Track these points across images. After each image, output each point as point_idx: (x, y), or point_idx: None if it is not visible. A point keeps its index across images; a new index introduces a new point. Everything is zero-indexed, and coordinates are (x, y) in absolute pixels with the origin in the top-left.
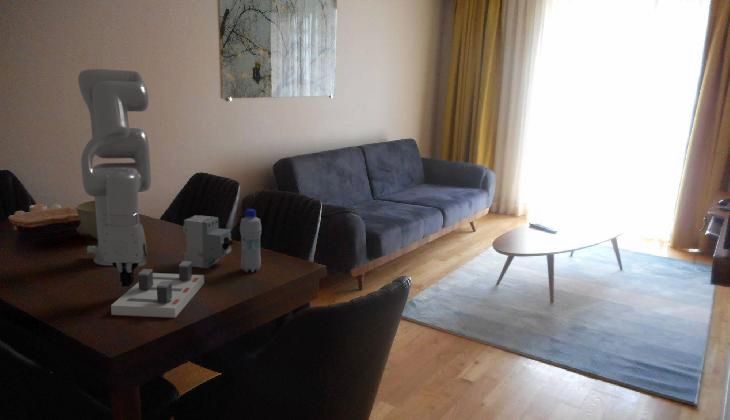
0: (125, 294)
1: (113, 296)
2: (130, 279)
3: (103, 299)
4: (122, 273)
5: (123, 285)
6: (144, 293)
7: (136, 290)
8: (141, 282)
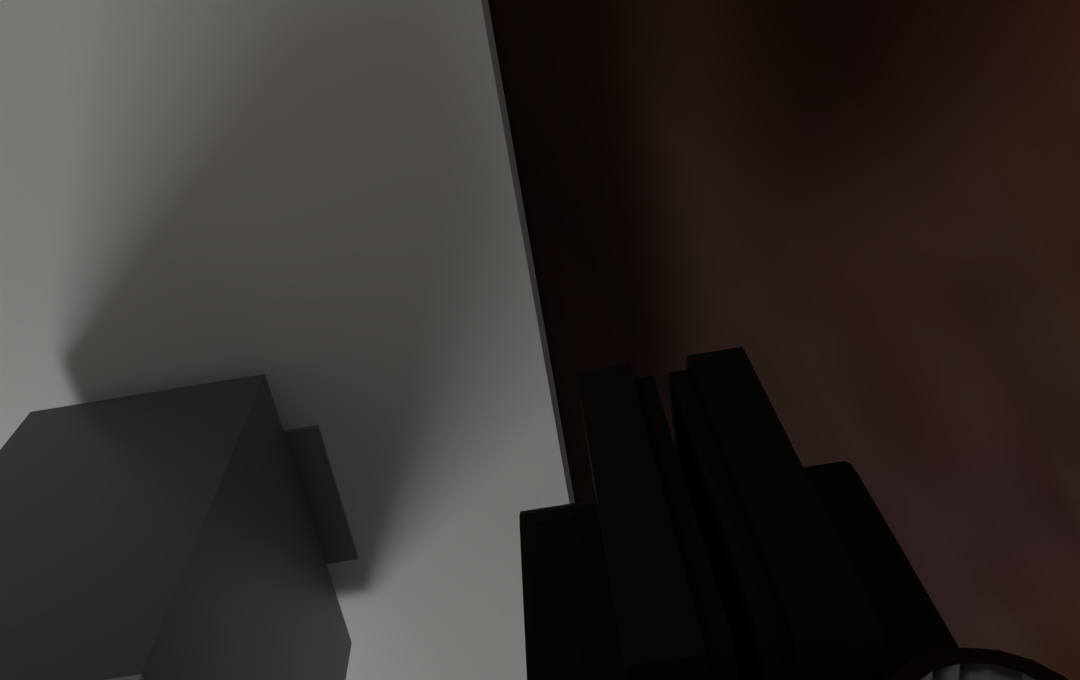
0: (441, 29)
1: (914, 257)
2: (551, 562)
3: (1052, 58)
4: (814, 615)
5: (699, 360)
6: (6, 237)
7: (343, 350)
8: (126, 505)
